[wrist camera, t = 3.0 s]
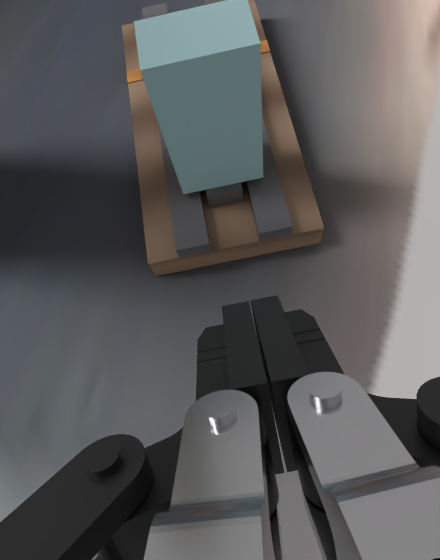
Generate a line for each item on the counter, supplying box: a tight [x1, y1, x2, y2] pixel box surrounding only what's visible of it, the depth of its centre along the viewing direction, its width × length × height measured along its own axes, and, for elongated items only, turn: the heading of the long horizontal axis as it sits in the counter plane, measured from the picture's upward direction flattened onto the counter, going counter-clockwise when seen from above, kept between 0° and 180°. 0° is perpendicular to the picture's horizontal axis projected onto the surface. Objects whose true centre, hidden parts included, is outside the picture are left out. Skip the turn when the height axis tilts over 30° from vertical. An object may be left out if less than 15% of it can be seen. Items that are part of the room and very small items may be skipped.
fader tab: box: [134, 0, 263, 207], centre depth 22 cm, size 4×5×10 cm
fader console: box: [122, 0, 324, 276], centre depth 29 cm, size 22×11×3 cm, turn 10°
